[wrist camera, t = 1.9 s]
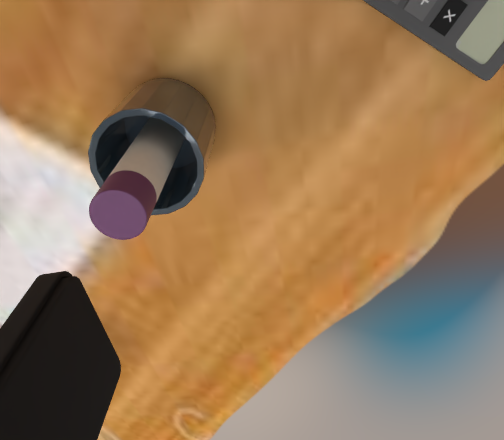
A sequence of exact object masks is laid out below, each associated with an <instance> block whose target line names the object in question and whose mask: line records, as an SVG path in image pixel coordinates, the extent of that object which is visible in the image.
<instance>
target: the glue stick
mask: <svg viewBox="0 0 504 440" xmlns="http://www.w3.org/2000/svg"><path fill="white" fill-rule="evenodd" d="M184 139H185V137H184V136H183V135H182V134H181V132H180V131H179V130H178V129H176V128H175V127H173V126H171V125H170V124H168V123H166V122H165V121H163V120H161V119H157V118H152V117H150V118H149V120H148V121H147V123H146V124H145V125H144V127H143V128H142V130H141V131H140V132H139V134H138V135H137V137H136V138H135V140H134V141H133V142H132V144H131V145H130V147H129V148H128V149H127V151H126V152H125V154H124V155H123V157H122V158H121V159H120V161H119V162H118V164H117V165H116V166H115V168H114V169H113V171H112V172H111V174H110V175H109V176H108V178H107V179H106V181H105V182H104V183H103V185H102V186H101V188H100V189H99V191H98V192H97V193H96V195H95V196H94V198H93V199H92V201H91V203H90V207H89V214H90V218H91V220H92V222H93V224H94V225H95V227H96V228H97V229H98V230H99V231H100V232H102V233H103V234H105V235H107V236H109V237H111V238H114V239H121V240H125V239H131V238H134V237H136V236H138V235H139V234H141V233H142V232H143V230H144V229H145V227H146V225H147V222H148V220H149V218H150V216H151V213H152V211H153V209H154V207H155V204H156V202H157V200H158V198H159V195H160V193H161V191H162V189H163V186H164V184H165V182H166V180H167V177H168V175H169V173H170V171H171V168H172V166H173V164H174V162H175V160H176V157H177V155H178V153H179V151H180V148H181V146H182V144H183V142H184Z"/></svg>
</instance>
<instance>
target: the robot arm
mask: <svg viewBox="0 0 504 440" xmlns="http://www.w3.org/2000/svg"><path fill="white" fill-rule="evenodd" d="M120 372H121V365H120V360H119V358H118V356H117V354H116V352H115V350H114V348H113V346H112V344H111V342H110V340H109V338H108V336H107V333H106V331H105V329H104V327H103V325H102V323H101V321H100V319H99V317H98V315H97V313H96V311H95V309H94V307H93V305H92V303H91V301H90V299H89V297H88V295H87V293H86V291H85V289H84V287H83V285H82V283H81V281H80V280H79V278H77V277H75V276H72V275H71V274H70V273H69V272H66V271H63V272H56V273H49V274H43V275H40V276H38V277H37V278H36V280H35V281H34V283H33V284H32V285H31V287H30V288H29V289H28V291H27V292H26V294H25V295H24V296H23V298H22V299H21V301H20V302H19V303H18V305H17V306H16V308H15V309H14V310H13V312H12V313H11V314H10V316H9V317H8V319H7V320H6V321H5V323H4V324H3V326H2V327H1V328H0V440H97V439H98V436H99V433H100V430H101V427H102V425H103V422H104V419H105V416H106V413H107V411H108V408H109V405H110V402H111V399H112V396H113V394H114V391H115V388H116V385H117V382H118V380H119V377H120Z"/></svg>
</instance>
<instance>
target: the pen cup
mask: <svg viewBox="0 0 504 440" xmlns="http://www.w3.org/2000/svg"><path fill="white" fill-rule="evenodd" d="M150 117H152V118H157V119H161V120H163V121H165V122H166V123H168V124H170V125H171V126H173V127H175V128H176V129H178V130H179V131H180V132H181V134H182V135H183V136H184V137H185V139H184V142H183V144H182V146H181V148H180V151H179V153H178V155H177V157H176V160H175V162H174V164H173V166H172V168H171V171H170V173H169V175H168V177H167V180H166V182H165V184H164V186H163V189H162V191H161V193H160V195H159V198H158V200H157V202H156V204H155V207H154V209H153V211H152V213H151V215H159V214H169V213H171V212H174V211H176V210H178V209H180V208H182V207H185V206H186V205H187V204H188V203H189V202H190V201H191V200H192V199H193V198H194V197H195V196H196V195H197V193H198V191H199V189H200V186H201V184H202V181H203V179H204V176H205V172H206V169H207V165H208V162H209V158H210V155H211V151H212V148H213V144H214V140H215V133H216V125H215V118H214V115H213V112H212V109H211V107H210V105H209V104H208V102H207V101H206V99H205V98H204V97H203V96H202V95H201V94H200V93H199V92H198V91H197V90H196V89H195V88H193V87H191V86H190V85H188V84H186V83H184V82H181V81H179V80H175V79H169V78H158V79H153V80H149V81H146V82H144V83H142V84H141V85H139V86H138V87H136V88H135V89H134V90H132V91H131V92H130V93H129V94H128V95H127V96H126V97H125V99H124V100H123V101H122V102H121V103H120V104H119V105H118V106H117V107H116V108H115V109H114V110H113V111H112V112H111V113H110V114H109V115H108V116H107V117H106V118H105V119H104V120H103V122H102V123H101V124H100V125H99V127H98V128H97V129H96V131H95V132H94V133H93V135H92V138H91V142H90V146H89V150H88V155H89V162H90V169H91V172H92V174H93V176H94V178H95V180H96V182H97V184H98V186H99V187H100V188H101V186H102V185H103V183H104V182H105V181H106V179H107V178H108V176H109V175H110V174H111V172H112V171H113V169H114V168H115V166H116V165H117V164H118V162H119V161H120V159H121V158H122V157H123V155H124V154H125V152H126V151H127V149H128V148H129V147H130V145H131V144H132V142H133V141H134V140H135V138H136V137H137V135H138V134H139V132H140V131H141V130H142V128H143V127H144V125H145V124H146V123H147V121H148V120H149V118H150Z"/></svg>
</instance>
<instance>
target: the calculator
mask: <svg viewBox="0 0 504 440" xmlns="http://www.w3.org/2000/svg"><path fill="white" fill-rule="evenodd" d="M363 1H365V2H366V3H368V4H369V5H371V6H372V7H374V8H375V9H377V10H378V11H380V12H381V13H383V14H384V15H386V16H387V17H389V18H390V19H392V20H393V21H395V22H396V23H398V24H399V25H401V26H402V27H404V28H405V29H407V30H408V31H410V32H411V33H413V34H414V35H416V36H417V37H419V38H420V39H422V40H423V41H425V42H426V43H428V44H429V45H431V46H432V47H434V48H436V49H437V50H439V51H440V52H442V53H443V54H445V55H446V56H448V57H449V58H451V59H452V60H454V61H455V62H457V63H458V64H460V65H461V66H463V67H464V68H466V69H467V70H469V71H470V72H472V73H473V74H475V75H476V76H478V77H479V78H481V79H483V80H485V81H487V80H490V79H491V78H492V77H493V76H494V75H495V73H496V72H497V71H498V70H499V69H500V67H501V66H502V65H503V64H504V0H363Z"/></svg>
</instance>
